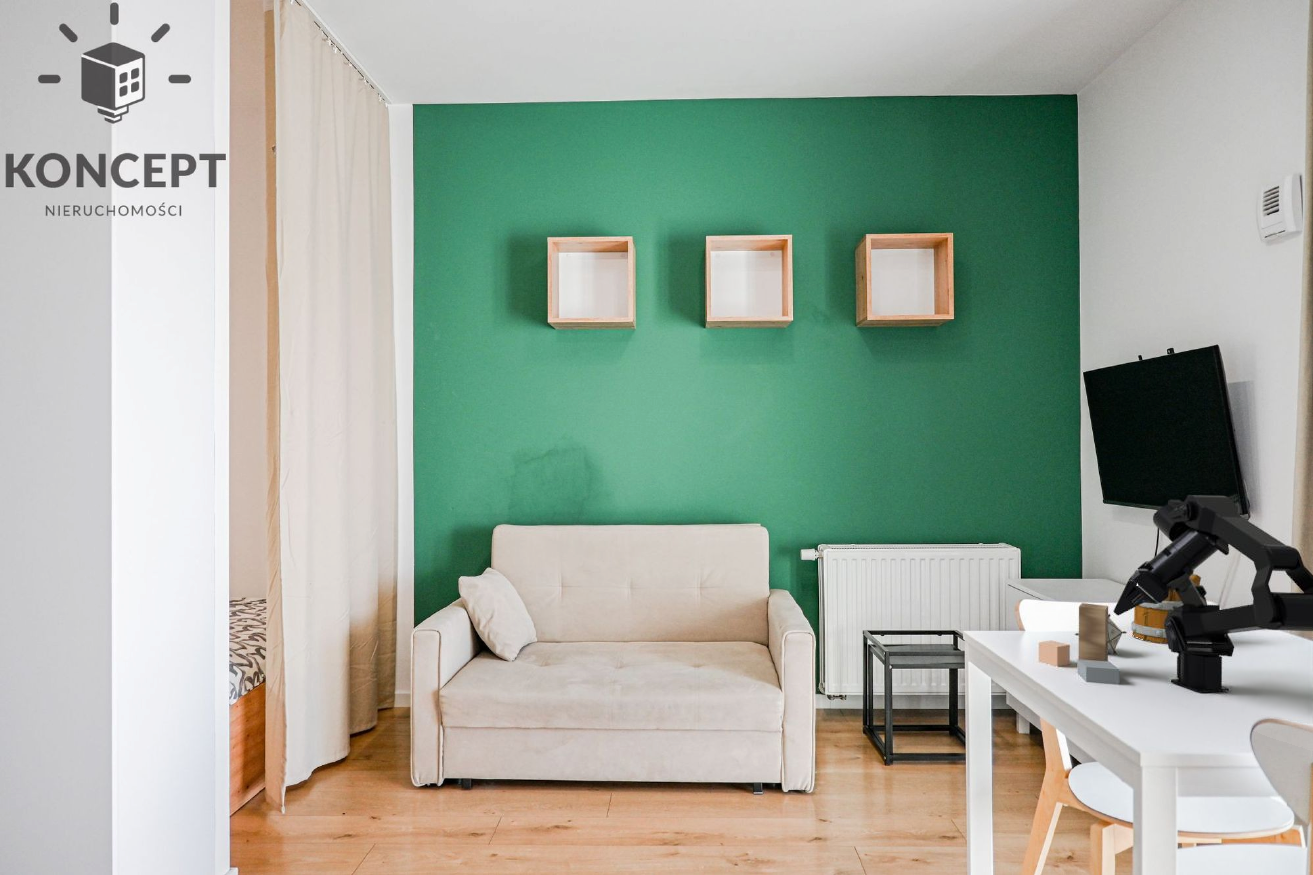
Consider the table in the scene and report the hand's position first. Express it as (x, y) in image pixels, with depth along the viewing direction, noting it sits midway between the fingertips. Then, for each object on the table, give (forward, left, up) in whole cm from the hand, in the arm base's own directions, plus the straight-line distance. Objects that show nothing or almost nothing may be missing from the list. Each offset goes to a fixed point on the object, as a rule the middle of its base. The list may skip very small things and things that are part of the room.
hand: (1118, 609), depth 151 cm
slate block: (-3, +6, -13) cm, 14 cm away
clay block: (+8, +7, -12) cm, 17 cm away
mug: (+24, -34, -12) cm, 43 cm away
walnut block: (+2, +3, -12) cm, 13 cm away
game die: (+15, -9, -12) cm, 22 cm away
